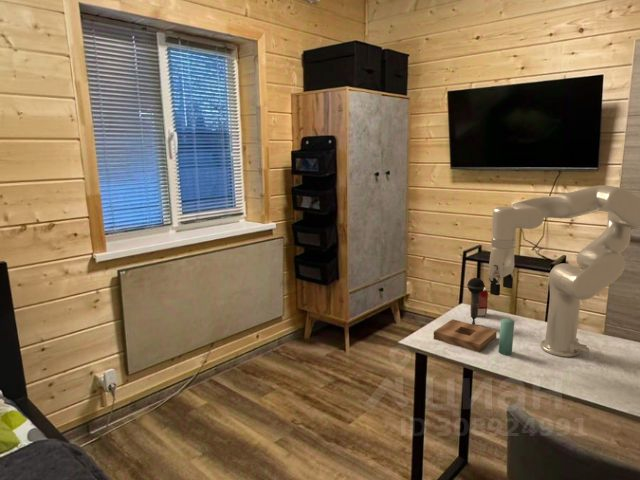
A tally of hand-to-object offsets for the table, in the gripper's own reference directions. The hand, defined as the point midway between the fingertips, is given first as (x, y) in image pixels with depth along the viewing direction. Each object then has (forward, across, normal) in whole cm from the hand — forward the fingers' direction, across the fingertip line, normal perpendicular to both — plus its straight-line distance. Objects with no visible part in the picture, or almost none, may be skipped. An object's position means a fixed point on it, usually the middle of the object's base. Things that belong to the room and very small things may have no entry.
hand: (501, 291), depth 158 cm
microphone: (+23, -16, -19) cm, 34 cm away
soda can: (+23, -28, -22) cm, 43 cm away
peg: (+23, -1, +2) cm, 23 cm away
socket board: (+23, -2, -14) cm, 27 cm away
